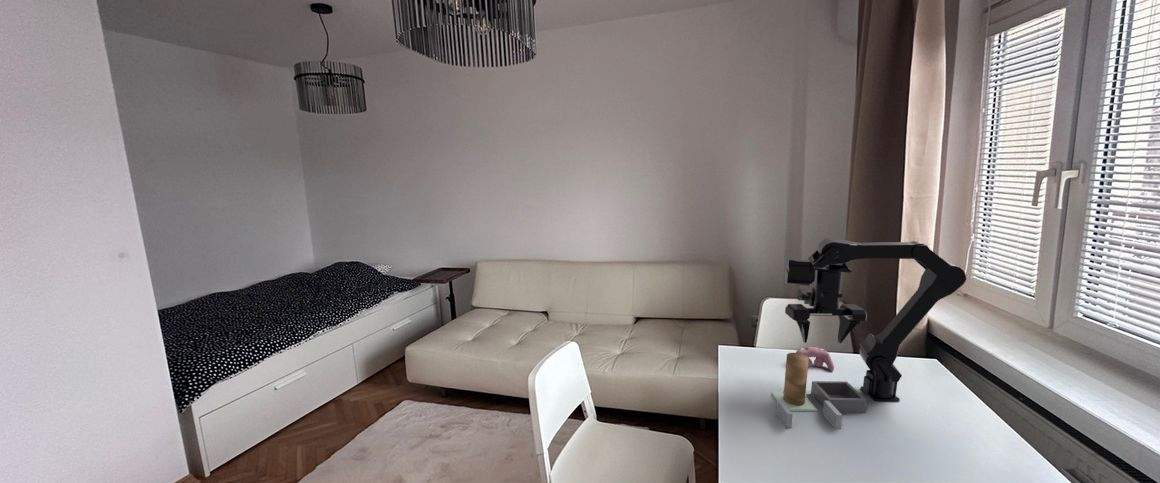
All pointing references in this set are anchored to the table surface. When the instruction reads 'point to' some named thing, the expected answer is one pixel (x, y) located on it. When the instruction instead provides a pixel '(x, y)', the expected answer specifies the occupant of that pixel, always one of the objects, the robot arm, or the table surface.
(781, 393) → the pad
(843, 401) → the gray open box
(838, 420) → the channel
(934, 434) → the table surface
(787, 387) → the walnut post
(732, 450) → the table surface
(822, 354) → the video game controller
